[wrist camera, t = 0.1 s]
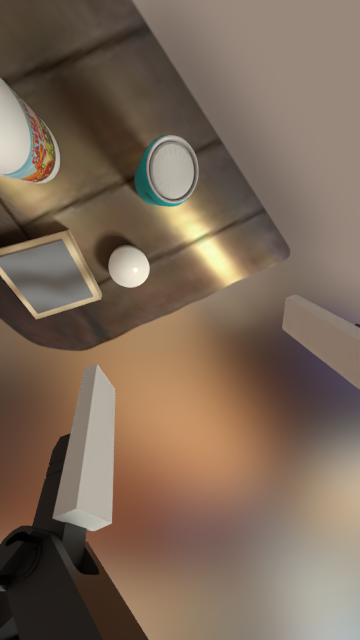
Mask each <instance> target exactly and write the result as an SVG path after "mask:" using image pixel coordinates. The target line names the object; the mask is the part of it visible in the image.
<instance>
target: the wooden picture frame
mask: <svg viewBox="0 0 360 640" xmlns="http://www.w3.org/2000/svg"><path fill="white" fill-rule="evenodd" d="M0 275H1V277H2V278H3V279H4V280H5V282H6V283H7V284H8V285H9V286H10V288H11V289H12V290H13V291H14V293H15V294H16V295H17V296H18V298H19V299H20V300H21V301H22V302H23V304H24V305H25V306H26V307H27V309H28V310H29V311H30V312H31V313H32V315H33V316H34V317H35V318H36V319H39V318H42V317H46V316H49V315H52V314H55V313H58V312H62V311H65V310H68V309H71V308H74V307H78V306H81V305H84V304H87V303H90V302H93V301H97V300H100V299H101V297H102V292H101V290H100V288H99V286H98V284H97V283H96V281H95V279H94V277H93V275H92V273H91V271H90V269H89V267H88V265H87V263H86V261H85V259H84V257H83V255H82V253H81V251H80V249H79V247H78V245H77V243H76V242H75V240H74V238H73V236H72V234H71V232H70V230H69V229H68V230H65V231H61V232H57V233H54V234H50V235H46V236H43V237H39V238H35V239H32V240H28V241H24V242H21V243H17V244H13V245H10V246H6V247H2V248H0Z"/></svg>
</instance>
